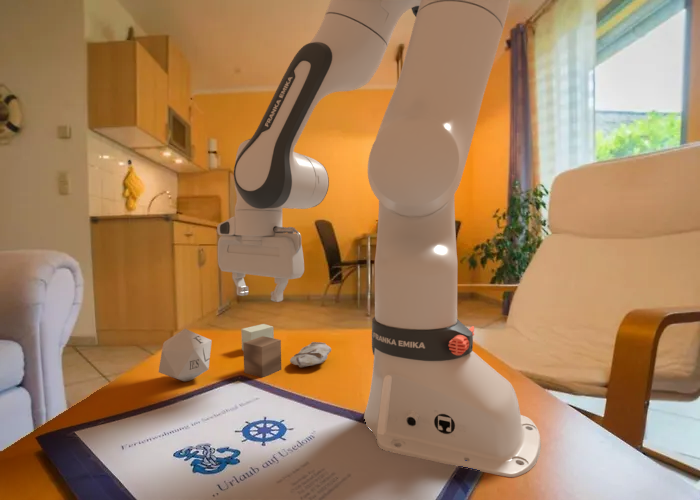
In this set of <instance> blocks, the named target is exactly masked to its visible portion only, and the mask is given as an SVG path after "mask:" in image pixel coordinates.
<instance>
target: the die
mask: <svg viewBox="0 0 700 500" xmlns="http://www.w3.org/2000/svg"><path fill="white" fill-rule="evenodd" d="M211 350H212V339H210V338H207V337H205V336H202V335H200V334H198V333H195V332H193V331H191V330H189V329H186V328H183V329H181V330H180V331H179V332H177V333H176V334H174V335H173V336H171V337H170V338H168V339H167V340H165V341H164V342H163V344H162V348H161V355H160V361H159V366H158V373H160V374H162V375H165V376H168V377H170V378H173V379H175V380H178V381H181V382H184V383H185V382H190V381H192V380H194V379H195V378H197V377H199V376H200V375H202V374H203V373H205V372H207V371H208V370H209V369H210V368H209V367H210V358H211Z"/></svg>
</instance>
